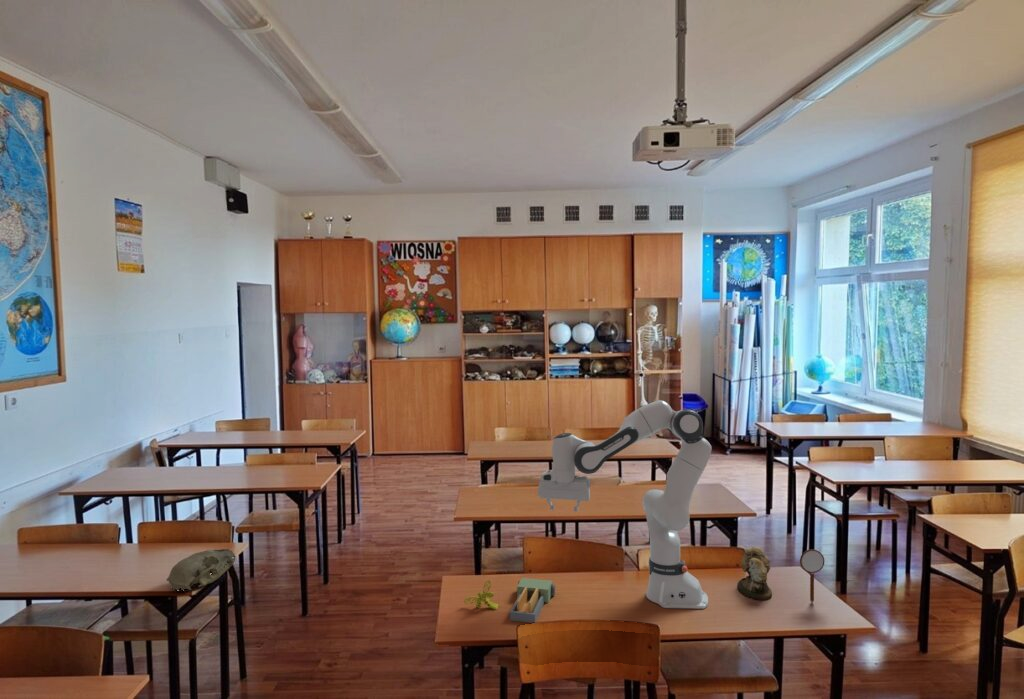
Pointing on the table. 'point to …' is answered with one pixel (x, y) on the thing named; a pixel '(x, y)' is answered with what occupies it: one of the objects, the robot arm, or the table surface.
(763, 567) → the stone bust
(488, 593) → the decorative insect
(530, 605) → the chute
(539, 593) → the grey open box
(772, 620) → the table surface
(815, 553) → the magnifying glass
